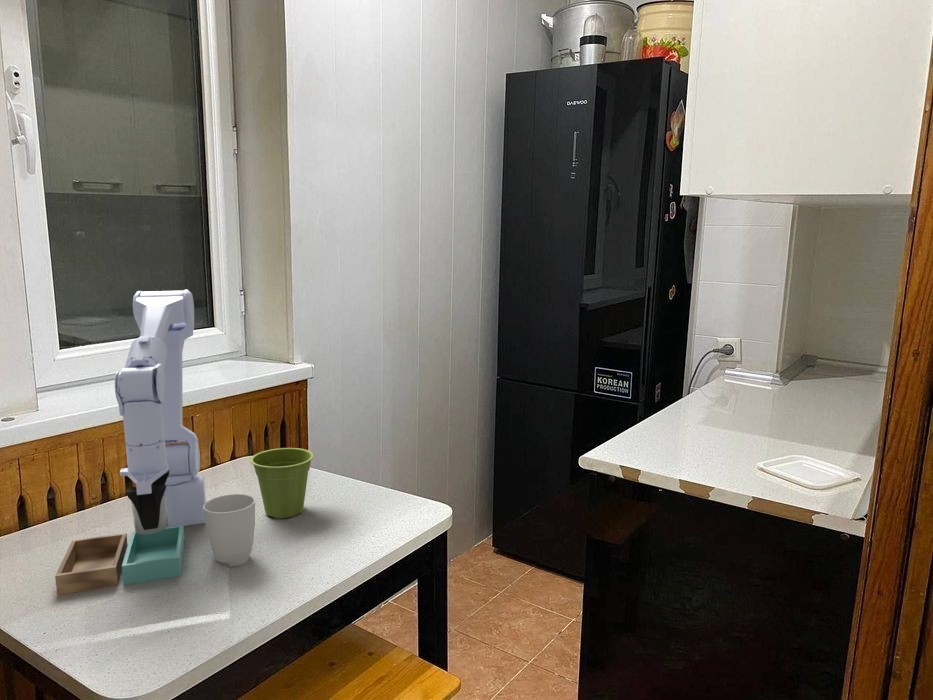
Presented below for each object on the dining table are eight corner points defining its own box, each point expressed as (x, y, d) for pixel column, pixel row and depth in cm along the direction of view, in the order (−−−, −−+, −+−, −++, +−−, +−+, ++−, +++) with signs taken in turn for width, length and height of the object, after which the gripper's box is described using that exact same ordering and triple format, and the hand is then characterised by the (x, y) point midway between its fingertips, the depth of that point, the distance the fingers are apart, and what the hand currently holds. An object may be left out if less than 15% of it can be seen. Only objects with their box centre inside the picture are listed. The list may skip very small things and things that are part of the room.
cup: (268, 552, 120) (264, 497, 119) (238, 574, 113) (234, 515, 111) (228, 546, 123) (224, 491, 121) (196, 567, 116) (192, 509, 114)
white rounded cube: (169, 519, 118) (166, 490, 117) (167, 531, 113) (163, 501, 112) (137, 524, 116) (133, 495, 115) (133, 536, 112) (129, 506, 111)
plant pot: (269, 529, 130) (265, 471, 128) (244, 510, 139) (240, 455, 137) (326, 513, 137) (324, 457, 135) (299, 496, 146) (297, 443, 144)
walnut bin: (128, 553, 121) (126, 532, 120) (118, 590, 108) (115, 567, 108) (74, 561, 118) (72, 540, 117) (57, 599, 106) (55, 576, 105)
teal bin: (185, 545, 123) (183, 525, 123) (181, 580, 111) (179, 557, 111) (133, 553, 121) (131, 532, 120) (124, 589, 109) (121, 566, 108)
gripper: (123, 431, 118) (130, 508, 120) (111, 457, 104) (119, 543, 107) (168, 427, 120) (175, 503, 122) (162, 452, 107) (169, 536, 109)
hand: (152, 521), depth 115 cm, fingers closed on white rounded cube, 5 cm apart
